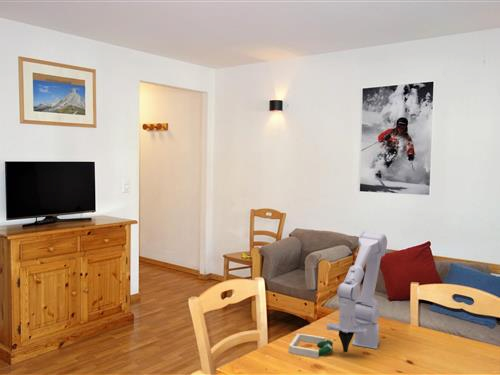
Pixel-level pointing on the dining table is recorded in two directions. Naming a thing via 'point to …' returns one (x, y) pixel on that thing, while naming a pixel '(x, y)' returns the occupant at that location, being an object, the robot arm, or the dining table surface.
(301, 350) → the controller dock
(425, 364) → the dining table surface
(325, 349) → the gaming controller
